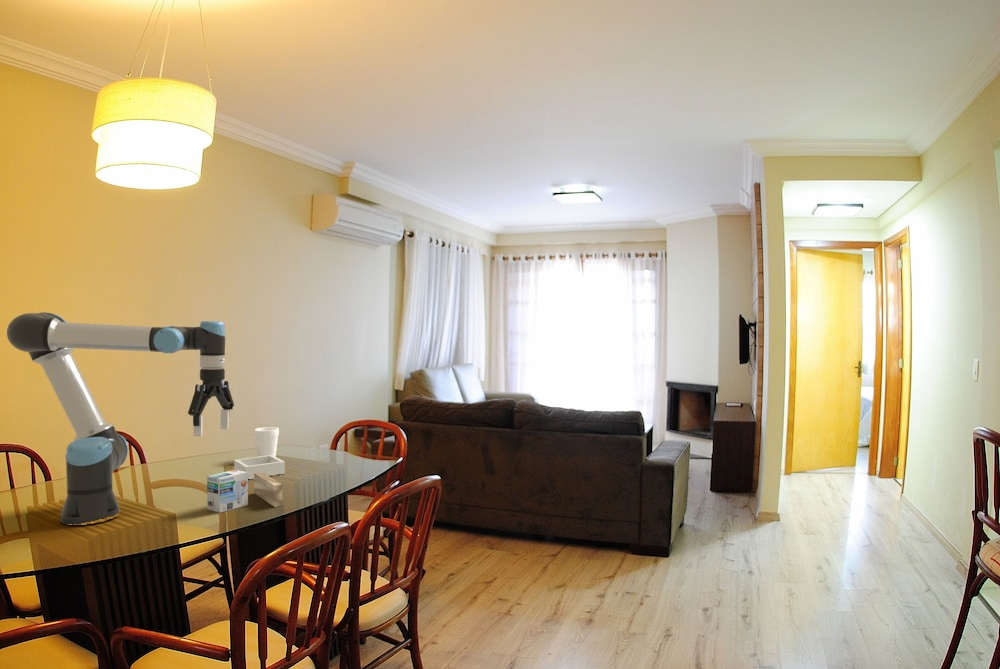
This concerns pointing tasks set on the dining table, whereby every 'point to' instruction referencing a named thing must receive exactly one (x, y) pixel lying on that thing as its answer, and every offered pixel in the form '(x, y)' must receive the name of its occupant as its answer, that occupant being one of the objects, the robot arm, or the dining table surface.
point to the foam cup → (266, 440)
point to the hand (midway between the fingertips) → (211, 432)
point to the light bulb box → (227, 490)
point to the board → (268, 489)
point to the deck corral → (260, 465)
